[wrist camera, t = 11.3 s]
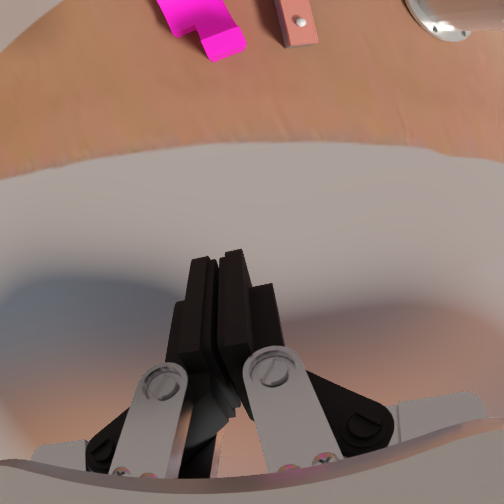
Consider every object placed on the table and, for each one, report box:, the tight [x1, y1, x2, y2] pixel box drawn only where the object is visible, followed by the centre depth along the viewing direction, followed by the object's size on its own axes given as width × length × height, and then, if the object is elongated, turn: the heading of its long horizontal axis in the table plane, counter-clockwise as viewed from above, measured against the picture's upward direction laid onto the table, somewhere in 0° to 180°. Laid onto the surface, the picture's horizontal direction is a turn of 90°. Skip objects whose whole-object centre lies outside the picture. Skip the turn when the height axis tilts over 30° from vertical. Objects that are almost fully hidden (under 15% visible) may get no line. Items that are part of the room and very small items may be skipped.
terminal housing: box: [274, 0, 319, 49], centre depth 26 cm, size 3×9×4 cm, turn 12°
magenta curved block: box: [157, 0, 247, 62], centre depth 24 cm, size 15×6×8 cm, turn 21°
